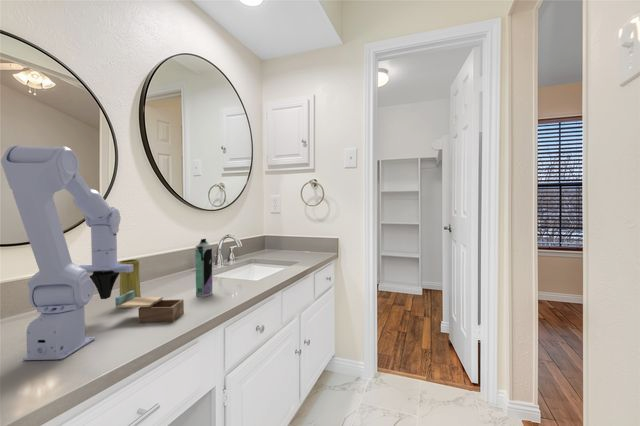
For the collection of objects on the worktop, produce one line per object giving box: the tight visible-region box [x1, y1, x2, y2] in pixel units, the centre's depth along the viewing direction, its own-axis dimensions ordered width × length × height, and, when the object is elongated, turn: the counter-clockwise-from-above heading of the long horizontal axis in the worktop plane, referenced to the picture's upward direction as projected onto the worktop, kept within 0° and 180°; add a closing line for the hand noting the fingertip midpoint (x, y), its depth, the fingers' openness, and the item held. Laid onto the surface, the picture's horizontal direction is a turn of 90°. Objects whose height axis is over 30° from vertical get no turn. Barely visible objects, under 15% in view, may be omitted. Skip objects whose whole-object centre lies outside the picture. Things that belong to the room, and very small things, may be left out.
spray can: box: [194, 238, 213, 298], centre depth 104 cm, size 6×6×20 cm
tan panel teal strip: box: [115, 291, 164, 309], centre depth 82 cm, size 7×9×3 cm
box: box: [137, 299, 185, 324], centre depth 82 cm, size 7×9×4 cm
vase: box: [119, 258, 142, 309], centre depth 94 cm, size 6×6×14 cm
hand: (105, 298), depth 82 cm, fingers closed
